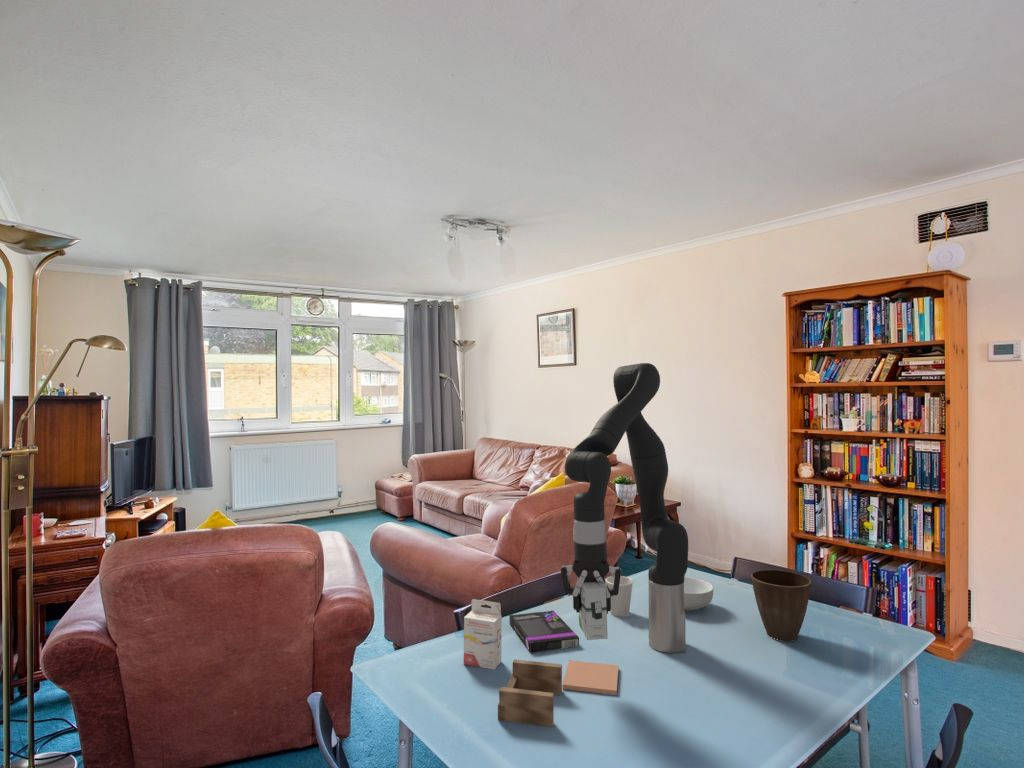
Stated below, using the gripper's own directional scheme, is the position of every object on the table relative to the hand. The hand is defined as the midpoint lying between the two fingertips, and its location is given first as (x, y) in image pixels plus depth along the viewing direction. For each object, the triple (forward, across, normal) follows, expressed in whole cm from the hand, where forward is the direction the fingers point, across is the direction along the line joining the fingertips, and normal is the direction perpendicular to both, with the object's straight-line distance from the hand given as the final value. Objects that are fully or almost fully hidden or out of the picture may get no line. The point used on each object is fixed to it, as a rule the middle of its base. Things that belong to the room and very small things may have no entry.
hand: (592, 611), depth 130 cm
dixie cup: (+18, -5, -44) cm, 48 cm away
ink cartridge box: (+16, +28, -5) cm, 33 cm away
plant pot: (+19, -49, -36) cm, 64 cm away
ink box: (+5, 0, 0) cm, 5 cm away
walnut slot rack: (+16, +13, +11) cm, 24 cm away
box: (+18, +16, -25) cm, 34 cm away
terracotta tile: (+17, +1, -3) cm, 17 cm away
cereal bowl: (+19, -26, -54) cm, 63 cm away
